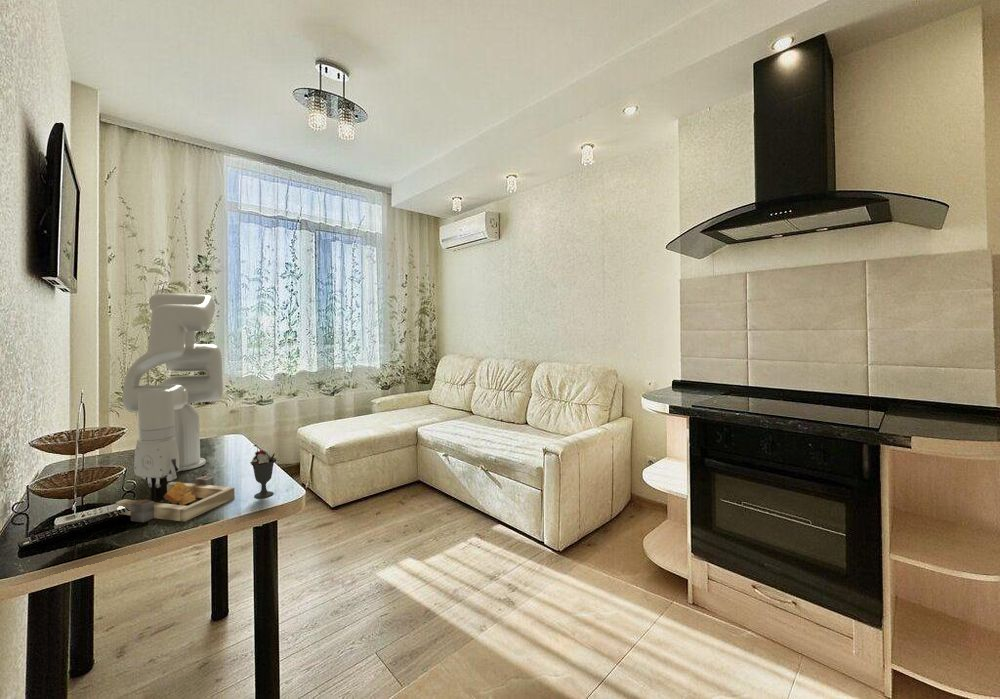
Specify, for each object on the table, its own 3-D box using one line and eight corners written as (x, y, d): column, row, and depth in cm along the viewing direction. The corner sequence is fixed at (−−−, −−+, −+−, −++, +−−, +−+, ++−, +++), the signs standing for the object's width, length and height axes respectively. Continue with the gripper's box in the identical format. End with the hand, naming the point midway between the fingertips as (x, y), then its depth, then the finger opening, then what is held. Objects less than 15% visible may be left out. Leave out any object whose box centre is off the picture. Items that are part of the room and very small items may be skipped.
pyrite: (196, 498, 118) (183, 511, 115) (175, 484, 116) (161, 497, 113) (201, 494, 115) (188, 507, 112) (179, 479, 113) (166, 492, 110)
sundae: (245, 496, 120) (244, 444, 119) (269, 489, 125) (268, 439, 125) (257, 501, 116) (256, 448, 115) (281, 494, 122) (280, 443, 121)
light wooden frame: (105, 517, 105) (104, 500, 105) (180, 488, 125) (179, 473, 125) (175, 526, 101) (175, 507, 101) (241, 494, 121) (241, 479, 121)
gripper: (120, 435, 111) (122, 503, 112) (166, 439, 108) (168, 508, 109) (148, 429, 119) (150, 492, 119) (192, 432, 116) (194, 497, 117)
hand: (159, 499), depth 114 cm, fingers closed
